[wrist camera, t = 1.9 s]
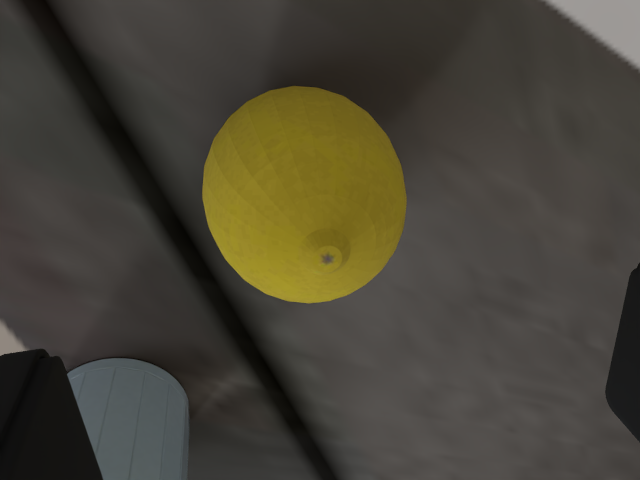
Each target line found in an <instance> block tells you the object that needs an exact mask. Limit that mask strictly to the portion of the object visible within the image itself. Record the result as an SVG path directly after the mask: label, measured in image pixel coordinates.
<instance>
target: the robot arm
mask: <svg viewBox="0 0 640 480" xmlns="http://www.w3.org/2000/svg"><path fill="white" fill-rule="evenodd" d="M605 393H606V399H607V402H608V404H609V406H610V408H611V409H612V411H613V412H614V413H615V414H616V416H617V417H618V418H619V419H620V420H621V421H622V422H623V424H624V425H625V426H626V427H627V428H628V429H629V430H630V432H631V433H632V434H633V435H634V436H635V437H636V439H637V440H638V441H639V442H640V263H639V264H638V267H637V268H636V269H634V270H633V271H632V272H631V275H630V277H629V282H628V287H627V291H626V296H625V301H624V305H623V310H622V315H621V319H620V324H619V328H618V333H617V338H616V342H615V347H614V352H613V356H612V361H611V366H610V370H609V375H608V380H607V384H606V391H605ZM0 480H103V477H102V474H101V471H100V468H99V465H98V462H97V459H96V456H95V454H94V451H93V448H92V445H91V442H90V439H89V436H88V433H87V430H86V427H85V425H84V422H83V419H82V416H81V413H80V410H79V407H78V404H77V401H76V398H75V396H74V393H73V390H72V387H71V384H70V381H69V378H68V375H67V372H66V369H65V367H64V364H63V362H62V359H61V358H60V357H58V356H54V357H50V356H49V354H48V353H47V352H46V350H44V349H36V350H29V351H23V352H16V353H10V354H4V355H2V356H0Z"/></svg>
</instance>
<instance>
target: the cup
mask: <svg viewBox="0 0 640 480" xmlns="http://www.w3.org/2000/svg"><path fill="white" fill-rule="evenodd" d="M67 375H68V378H69V381H70V384H71V387H72V390H73V393H74V396H75V398H76V401H77V404H78V407H79V410H80V413H81V416H82V419H83V422H84V425H85V427H86V430H87V433H88V436H89V439H90V442H91V445H92V448H93V451H94V454H95V456H96V459H97V462H98V465H99V468H100V471H101V474H102V477H103V480H187V468H188V447H189V427H190V419H189V402H188V398H187V395H186V393H185V391H184V389H183V387H182V386H181V385H180V383H179V382H178V381H177V380H176V379H175V378H174V377H173V376H172V375H170V374H169V373H168V372H166V371H165V370H163V369H161V368H160V367H157V366H155V365H153V364H150V363H147V362H144V361H140V360H135V359H127V358H109V359H102V360H97V361H93V362H90V363H86V364H84V365H82V366H79V367H77V368H75V369H74V370H72V371H70V372H69V373H68V374H67Z"/></svg>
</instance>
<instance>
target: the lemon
mask: <svg viewBox="0 0 640 480" xmlns="http://www.w3.org/2000/svg"><path fill="white" fill-rule="evenodd" d="M202 196H203V203H204V208H205V213H206V218H207V223H208V226H209V229H210V232H211V234H212V236H213V238H214V239H215V241H216V243H217V245H218V247H219V249H220V251H221V253H222V255H223V256H224V258H225V259H226V261H227V262H228V263H229V264H230V265H231V266H232V267H233V268H234V269H235V270H236V272H237V273H238V274H239V275H240V276H241V277H242V278H243V279H244V280H245V281H247V282H248V283H250V284H251V285H253V286H254V287H256V288H257V289H259V290H261V291H262V292H264V293H265V294H268V295H271V296H274V297H277V298H280V299H283V300H286V301H291V302H302V303H316V302H325V301H331V300H334V299H337V298H340V297H343V296H346V295H349V294H350V293H352V292H354V291H355V290H357V289H359V288H361V287H362V286H364V285H366V284H367V283H368V282H369V281H370V280H371V279H372V278H373V277H375V276H376V275H377V274H378V273H379V272H380V271H381V270H382V269H383V267H384V266H385V264H386V263H387V262H388V260H389V259H390V257H391V256H392V254H393V253H394V252H395V250H396V247H397V244H398V242H399V239H400V237H401V234H402V231H403V227H404V221H405V212H406V200H407V198H406V191H405V185H404V178H403V172H402V167H401V164H400V161H399V159H398V157H397V155H396V153H395V151H394V148H393V146H392V144H391V142H390V140H389V138H388V136H387V135H386V133H385V132H384V131H383V130H382V128H381V127H380V126H379V125H378V124H377V123H376V121H375V120H374V119H373V118H372V117H371V116H370V114H369V113H368V112H367V111H365V110H364V109H362V108H361V107H359V106H358V105H356V104H355V103H353V102H352V101H350V100H349V99H347V98H346V97H344V96H342V95H339V94H336V93H333V92H330V91H327V90H324V89H321V88H317V87H302V86H291V87H285V88H280V89H275V90H270V91H268V92H266V93H264V94H261V95H259V96H257V97H255V98H253V99H251V100H249V101H247V102H246V103H245V104H244V105H243V106H241V107H240V108H239V109H238V110H237V111H235V112H234V113H233V114H232V115H231V116H230V117H229V118H228V119H227V121H226V122H225V124H224V125H223V126H222V128H221V129H220V131H219V132H218V134H217V135H216V136H215V138H214V140H213V143H212V146H211V148H210V151H209V154H208V157H207V160H206V162H205V166H204V177H203V191H202Z"/></svg>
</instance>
